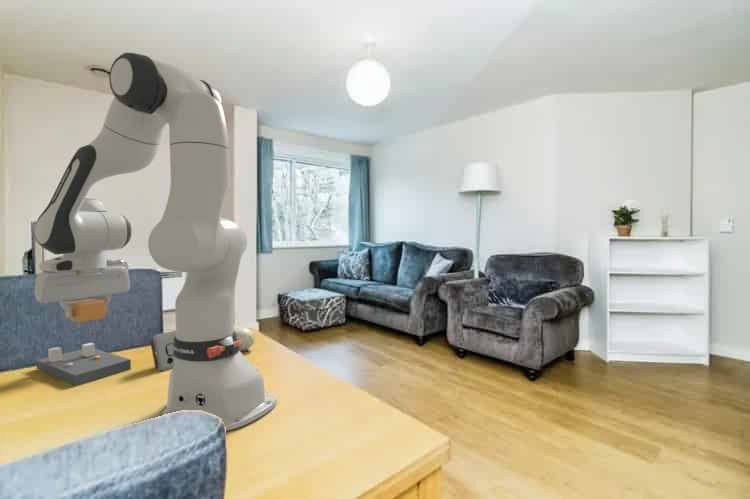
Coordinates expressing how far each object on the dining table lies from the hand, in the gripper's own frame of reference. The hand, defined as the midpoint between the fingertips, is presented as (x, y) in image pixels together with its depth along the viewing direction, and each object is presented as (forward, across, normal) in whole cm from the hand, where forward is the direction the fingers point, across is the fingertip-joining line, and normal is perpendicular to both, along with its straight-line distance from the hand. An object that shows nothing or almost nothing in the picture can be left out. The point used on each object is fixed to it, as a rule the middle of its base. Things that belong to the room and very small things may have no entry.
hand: (87, 314), depth 98 cm
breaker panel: (+14, +2, +2) cm, 14 cm away
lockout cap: (+1, 0, 0) cm, 1 cm away
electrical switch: (+14, -11, +18) cm, 25 cm away
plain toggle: (+11, +6, -3) cm, 13 cm away
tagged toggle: (+11, 0, 0) cm, 11 cm away
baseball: (+14, -29, +25) cm, 41 cm away
